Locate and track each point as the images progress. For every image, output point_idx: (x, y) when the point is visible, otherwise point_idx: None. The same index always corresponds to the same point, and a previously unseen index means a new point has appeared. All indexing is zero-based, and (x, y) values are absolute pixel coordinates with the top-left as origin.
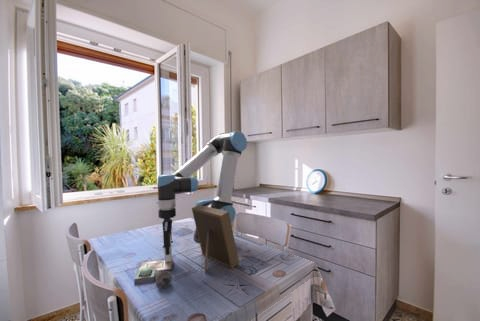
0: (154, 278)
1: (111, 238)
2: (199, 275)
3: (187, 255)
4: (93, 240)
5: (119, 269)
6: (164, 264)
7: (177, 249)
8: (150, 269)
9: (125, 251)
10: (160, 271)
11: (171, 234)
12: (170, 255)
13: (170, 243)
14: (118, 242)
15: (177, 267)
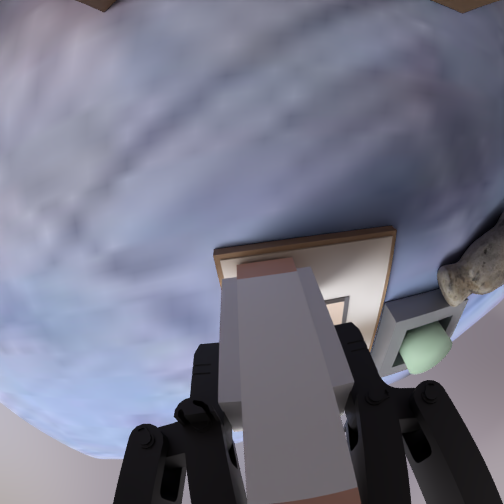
0: (440, 291)
1: (70, 441)
2: (474, 48)
3: (112, 145)
4: (97, 457)
5: None
6: None
7: (32, 262)
8: (444, 339)
9: None
10: (494, 285)
11: (129, 491)
12: (324, 303)
13: (339, 420)
14: (82, 437)
15: (357, 188)
